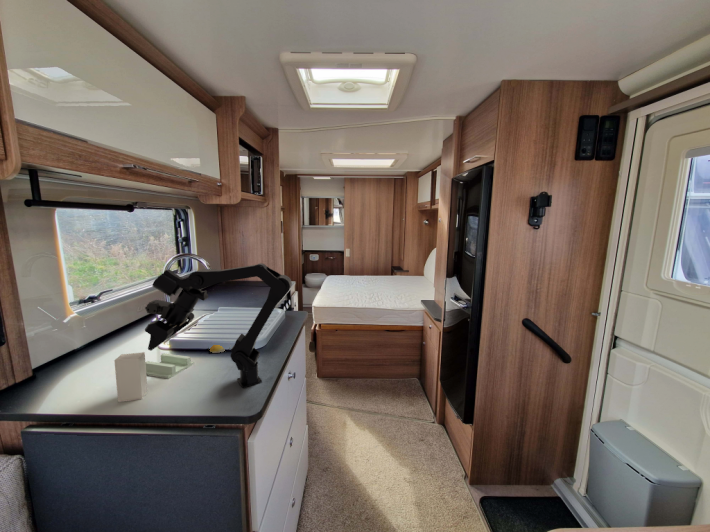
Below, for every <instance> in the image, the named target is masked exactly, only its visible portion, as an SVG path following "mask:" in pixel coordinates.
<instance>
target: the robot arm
mask: <svg viewBox="0 0 710 532" xmlns="http://www.w3.org/2000/svg"><path fill="white" fill-rule="evenodd" d="M249 278H258V279H260V280H261V282H264V283H265V285H267V286H268V287H269V288H270V289H269V291H268V294H267V298H266V300H265V302H264V304H263V306H262V307H261V309H260V310H259V312H258V314H257V316H256V317H255V319H254V320H253V322H252V324H251V325H250V328H249V329H248V331H247V332H246V334H245V335H244V334H243V333H240V335H239V336H238V337H237V339H236V340H235V343H234V344H233V346H232V347H231V348H230V350H229V351H230V352H231V353H230V359H231V361H232V362H233V363H234V364H235V366H236V368H237V370H238V371H239V375H240V376H239V377H237V379H236V381H237V382H238V384H239V386H240V387H241V388H243V389H245V388H248V387H251V386H254V385H256V384H260V383H262V382H263V380H262V378H261V377H260V376H259V362H258V359H259V358H260V355H261V352H260V351H259V350H258V349H256V343H257V340H258V337H259V335H260V333H261V332H262V330H263V329H264V327H265V325H266V323H267V321H268V319H269V318H270V316H271V315H272V313H273V312H274V309H275V308H276V306H277V305H278V304H279V303H280V301H282V299H284V297H285V296H286V295H287V294H288V293H289V292H290V290H291V288H292V283H293V282H292V279H291V278H290V277H289V276H288V275H285V274H281V273H280V272H278V271H276V270H274V269H272V268H270V267H269V266H267V265H266V264H265V263H262V262H260V263H258V264H252V265H245V266H238V267H234V268H233V267H232V268H227V269H217V268H216V269H215V268H214V269H213V268H203V269H200V270H199V269H198V270H195V271H193V272H191V273H190V274H189V275H188V276H186V277H182V276H180V275H178V274H177V273H175V272H174V271H173V270H171V269H165V270H164V271H163V272H162V273H161V274H160V275H159V276H158V277H157V278H156V279H155V280H154V281H153V283H152V287H153V288H155V289H156V290H158V291H159V292H162V293H163V294H165V295H167V296H168V297H172V296H177V297H176V298H175V300H174V302H170V301H165V300H161V299H155V300H152V301H149V302H148V303H147V304H146V306H145V307H144V309H145V311H146V313H147V314H150V315H151V314H153V315H157V316H158V315H160V316H159V318H161V319H163V320H164V321H165V322H164V321H163V320H160V319H158V320H153V321H152V322H150V323H148V324H147V326H146V327H145V329H144V332H145V333H147V334H148V335H150V337H149V342H148V347H147V349H148V351H153V350H154V349H156V348H157V347H158V346H159V345H161V344H163V343H164V342H166V341H167V340H168V339H169V338H171V337H173V336H174V335H176V334H177V333H178V332H180V331H181V330H183V328H185V327H186V326H188V325H189V324H190V323H192V321H194V319H195V314H194V313H193V312H194V310H195V306H196V305H197V304H198V302H199V300H202V301H203V302H204V301H206V300H207V299H209V294H208V293H207V292H208V291H207V290H203V289H206V288H209V287H212V286H214V285H217V284H220V283H225V282H230V281H237V280H243V279H249Z"/></svg>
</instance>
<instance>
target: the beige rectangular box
mask: <svg viewBox="0 0 710 532" xmlns="http://www.w3.org/2000/svg"><path fill="white" fill-rule="evenodd" d="M113 361H114V369H115V371H114V372H115V381H116V392H117V393H116V394H117V402H118V403H121V402H130V401H136V400H143V398H144V397H145V396H146V394H148V392H149V391H148V379H147V377H148V376H147V375H146V364H145V362H146V353H145V352H144V351H143V352H134V353H122V354H120V355H119V356H118V357H117V358H115V359H114V360H113ZM147 391H148V392H147Z"/></svg>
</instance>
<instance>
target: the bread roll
mask: <svg viewBox="0 0 710 532" xmlns="http://www.w3.org/2000/svg"><path fill="white" fill-rule="evenodd" d="M209 351H210V353H211V352H212V354H221V353H225V352H226V351H225V349H224V348H223V347H222V346H220V345H213V346H212V347H211V348H210V350H209ZM224 351H225V352H224ZM220 352H221V353H220Z"/></svg>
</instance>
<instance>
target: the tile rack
mask: <svg viewBox="0 0 710 532" xmlns="http://www.w3.org/2000/svg"><path fill="white" fill-rule="evenodd" d="M191 360H192V359H191V356H186V355H178V354H171V353H165V352H164V353H161V354H160V362H157V361H150V360H147V361H145V364H146V376H150V377H156V378H160V379H161V378H162V379H168V380H169V379H171V378H172V377H174V376H176V375H178V374H179V373H181V372H183V371H184V370H187V369H188V368H190V367H192V366H193V365H194V364H195V362H194V361H191Z"/></svg>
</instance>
